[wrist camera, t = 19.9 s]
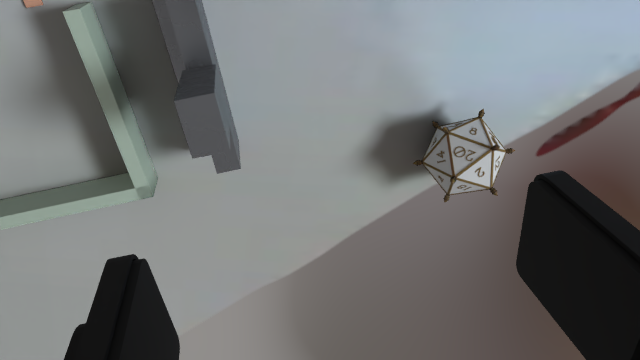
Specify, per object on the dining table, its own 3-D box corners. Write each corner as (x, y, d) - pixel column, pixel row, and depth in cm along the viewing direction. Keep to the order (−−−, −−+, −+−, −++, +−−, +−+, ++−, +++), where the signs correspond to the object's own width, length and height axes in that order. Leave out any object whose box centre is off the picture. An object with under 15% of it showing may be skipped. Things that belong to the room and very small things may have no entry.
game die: (417, 137, 52) (388, 182, 44) (463, 79, 46) (438, 121, 39) (482, 183, 51) (463, 237, 44) (537, 131, 45) (525, 183, 38)
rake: (202, 147, 44) (195, 224, 32) (153, -8, 37) (123, 21, 25) (241, 139, 44) (247, 212, 33) (200, -17, 37) (191, 8, 26)
